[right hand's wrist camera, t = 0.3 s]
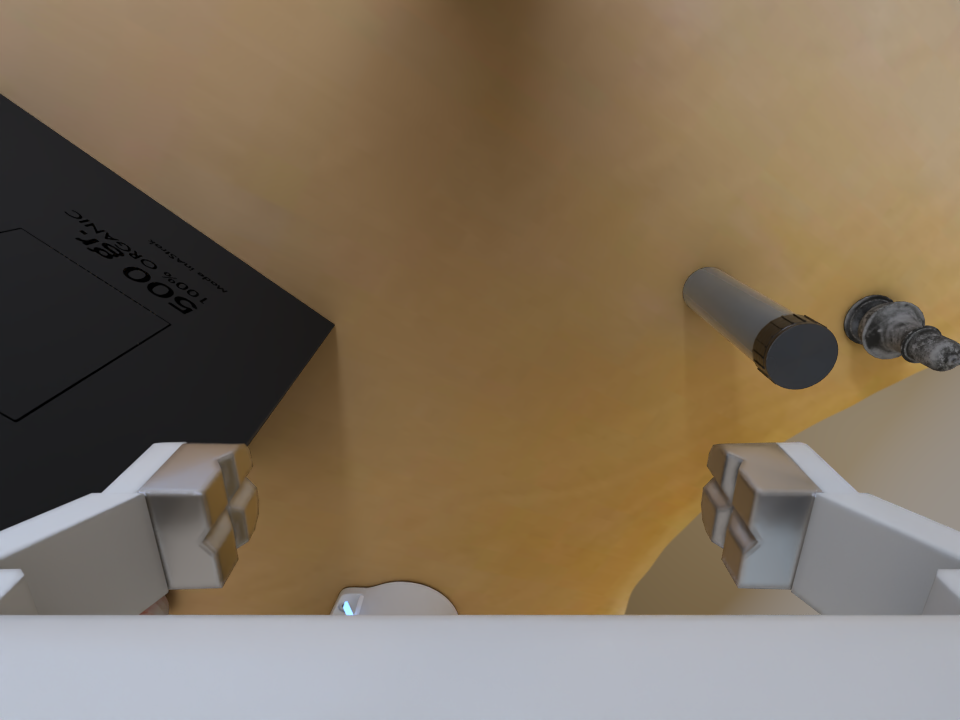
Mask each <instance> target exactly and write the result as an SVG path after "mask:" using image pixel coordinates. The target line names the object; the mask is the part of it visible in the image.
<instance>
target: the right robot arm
mask: <svg viewBox="0 0 960 720" xmlns="http://www.w3.org/2000/svg"><path fill="white" fill-rule="evenodd" d="M252 467H253V463H252V458H251V453H250V449H249V448H248V447H247V446H246V445H245V444H239V443H186V442H164V443H154V444H153V445H152V446H151V447H150V448H148V449H147V450H146V451H145V452H144V453H143V454H142V455H141V456H140V457H139V458H138V459H137V460H136V461H135V462H134V463H133V464H132V465H130V466H129V467H128V468H127V469H126V470H125V471H124V472H123V473H122V474H121V475H120V476H119V477H118V478H117V479H116V480H115V481H114V482H112V483H111V484H110V485H109V486H108V487H107V488H106V489H105V490H104V491H103V492H102V493H91V494H88V495H86V496H84V497H81V498H79V499H76V500H74V501H72V502H69V503H67V504H64V505H62V506H60V507H57V508H55V509H52V510H50V511H48V512H45V513H43V514H40V515H38V516H36V517H33V518H31V519H28V520H26V521H24V522H21V523H19V524H16V525H14V526H12V527H9V528H7V529H4V530H2V531H0V720H960V531H958V530H955V529H953V528H951V527H948V526H946V525H943V524H941V523H939V522H936V521H934V520H931V519H929V518H927V517H924V516H922V515H920V514H917V513H915V512H912V511H910V510H907V509H905V508H903V507H900V506H898V505H895V504H893V503H891V502H888V501H886V500H884V499H881V498H879V497H876V496H874V495H872V494H869V493H858V492H857V491H856V490H855V489H854V488H853V487H852V486H851V485H850V484H849V483H848V482H846V481H845V480H844V479H843V478H842V477H841V476H840V475H839V474H838V473H837V472H836V471H835V470H834V469H833V468H832V467H831V466H830V465H829V464H828V463H826V462H825V461H824V460H823V459H822V458H821V457H820V456H819V455H818V454H817V453H816V452H815V451H814V450H813V449H812V448H811V447H810V446H808V445H807V444H805V443H802V442H784V443H737V444H716V445H713V446H712V448H711V450H710V453H709V457H708V462H707V467H708V469H709V470H710V472H711V473H712V475H713V476H714V477H713V478H712V479H711V480H710V481H709V482H708V483H707V484H706V485H705V486H704V487H703V493H702V501H701V510H702V520H703V523H704V526H705V530H706V532H707V534H708V536H709V538H710V540H711V541H712V542H713V543H715V544H717V545H718V546H720V547H721V548H723V554H722V561H723V563H724V564H725V566H726V568H727V570H728V571H729V573H730V575H731V577H732V578H733V580H734V582H735V584H736V585H737V587H738V588H754V589H791V592H792V593H793V594H795V595H796V596H797V597H799V598H800V599H801V600H803V601H804V602H805V603H807V604H808V605H809V606H811V607H812V608H813V609H814V610H816V611H817V612H818V613H820V614H821V615H139V614H140V613H142V612H143V611H144V610H146V609H147V608H148V607H150V606H151V605H152V604H154V603H155V602H156V601H158V600H159V599H160V598H162V597H163V596H164V595H166V594H167V593H168V592H169V589H205V588H222V587H223V585H224V584H225V582H226V580H227V579H228V577H229V575H230V573H231V572H232V570H233V568H234V566H235V565H236V563H237V561H238V554H237V548H239V547H240V546H242V545H243V544H245V543H247V542H248V541H249V540H250V538H251V536H252V534H253V532H254V530H255V527H256V522H257V518H258V514H259V499H258V492H257V487H256V486H255V485H254V484H253V483H252V482H251V481H250V480H249V479H248V478H247V477H246V476H247V475H248V473H249V472H250V470H251V469H252Z"/></svg>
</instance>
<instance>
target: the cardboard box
mask: <svg viewBox="0 0 960 720" xmlns="http://www.w3.org/2000/svg"><path fill="white" fill-rule="evenodd" d="M88 220H90V221H89V222H88ZM93 223H94V225H95V227H94V228H93ZM101 230H102V231H101ZM104 230H105V232H104ZM79 231H81V232H79ZM84 232H86V234H84ZM107 232H108V233H109V235H108V237H107V238H106V233H107ZM110 236H111V237H112V238H111V237H110ZM90 239H92V241H94V240H95V239H97V240H96V242H97V241H98V242H97V243H96V242H94V243H92V242H91V241H90ZM120 242H121V243H120ZM102 243H103V244H105V243H106V245H105V246H104V245H102ZM122 243H124V244H122ZM125 245H127V246H125ZM50 247H52V248H53V249H52V248H50ZM112 247H114V248H115V249H114V248H112ZM129 247H130V249H131V251H129ZM109 248H110V251H108V249H109ZM94 251H98V252H99V253H100V255H99V254H98V253H96V252H94ZM59 252H60V253H59ZM119 252H121V254H120V255H122V254H124V256H119V257H117V256H118V254H119ZM134 252H137V254H135V253H134ZM115 253H117V255H115V256H113V254H115ZM110 254H112V255H110ZM134 254H135V255H137V256H138V257H136V256H135V255H134ZM63 255H64V256H65V257H64V256H63ZM140 255H142V256H143V257H140ZM102 256H106V257H107V258H105V257H102ZM68 258H69V259H70V260H69V259H68ZM145 259H146V260H145ZM148 260H149V261H150V262H149V261H148ZM151 262H153V263H151ZM77 264H78V265H79V266H78V265H77ZM153 264H155V265H153ZM156 266H157V267H156ZM133 267H136V268H135V269H133ZM152 267H153V268H152ZM125 268H126V271H128V273H127V277H126V276H125V275H124V274H125V273H126V271H124V269H125ZM139 268H140V269H141V270H144V271H146V274H145V273H144V271H143V272H142V271H139V270H138V269H139ZM85 269H86V270H87V271H86V270H85ZM89 272H91V273H92V274H91V273H89ZM123 272H124V274H123ZM147 273H148V274H149V276H148V277H147V278H146V275H147ZM95 275H96V276H97V277H96V276H95ZM150 276H151V279H150V278H149V277H150ZM103 281H105V282H103ZM154 282H155V283H154ZM108 284H109V285H108ZM112 286H113V287H114V288H113V287H112ZM118 290H119V291H118ZM122 293H124V294H122ZM131 299H133V300H134V301H133V300H131ZM138 303H139V304H138ZM141 305H142V306H143V307H142V306H141ZM150 311H152V312H150ZM154 313H155V314H156V315H155V314H154ZM334 326H335V325H334V324H333V323H331V322H330V321H328V320H327V319H325V318H324V317H322V316H321V315H320V314H318V313H317V312H315V311H314V310H312V309H311V308H309V307H308V306H306V305H305V304H304V303H302V302H301V301H299V300H298V299H296V298H295V297H293V296H292V295H291V294H289V293H288V292H286V291H285V290H283V289H282V288H280V287H279V286H278V285H276V284H275V283H273V282H272V281H270V280H269V279H267V278H266V277H265V276H263V275H262V274H260V273H259V272H257V271H256V270H254V269H253V268H251V267H250V266H249V265H247V264H246V263H244V262H243V261H241V260H240V259H238V258H237V257H236V256H234V255H233V254H231V253H230V252H228V251H227V250H225V249H224V248H223V247H221V246H220V245H218V244H217V243H215V242H214V241H212V240H211V239H210V238H208V237H207V236H205V235H204V234H202V233H201V232H199V231H198V230H196V229H195V228H194V227H192V226H191V225H189V224H188V223H186V222H185V221H183V220H182V219H181V218H179V217H178V216H176V215H175V214H173V213H172V212H170V211H169V210H168V209H166V208H165V207H163V206H162V205H160V204H159V203H157V202H156V201H155V200H153V199H152V198H150V197H149V196H147V195H146V194H144V193H143V192H141V191H140V190H139V189H137V188H136V187H134V186H133V185H131V184H130V183H128V182H127V181H126V180H124V179H123V178H121V177H120V176H118V175H117V174H115V173H114V172H113V171H111V170H110V169H108V168H107V167H105V166H104V165H102V164H101V163H100V162H98V161H97V160H95V159H94V158H92V157H91V156H89V155H88V154H86V153H85V152H84V151H82V150H81V149H79V148H78V147H76V146H75V145H73V144H72V143H71V142H69V141H68V140H66V139H65V138H63V137H62V136H60V135H59V134H58V133H56V132H55V131H53V130H52V129H50V128H49V127H47V126H46V125H45V124H43V123H42V122H40V121H39V120H37V119H36V118H34V117H33V116H31V115H30V114H29V113H27V112H26V111H24V110H23V109H21V108H20V107H18V106H17V105H16V104H14V103H13V102H11V101H10V100H8V99H7V98H5V97H4V96H3V95H1V94H0V531H2V530H4V529H7V528H9V527H12V526H14V525H16V524H19V523H21V522H24V521H26V520H28V519H31V518H33V517H36V516H38V515H40V514H43V513H45V512H48V511H50V510H52V509H55V508H57V507H60V506H62V505H64V504H67V503H69V502H72V501H74V500H76V499H79V498H81V497H84V496H86V495H88V494H91V493H102V492H103V491H104V490H105V489H106V488H107V487H108V486H109V485H110V484H111V483H112V482H114V481H115V480H116V479H117V478H118V477H119V476H120V475H121V474H122V473H123V472H124V471H125V470H126V469H127V468H128V467H129V466H130V465H132V464H133V463H134V462H135V461H136V460H137V459H138V458H139V457H140V456H141V455H142V454H143V453H144V452H145V451H146V450H147V449H148V448H150V447H151V446H152V445H153V444H154V443H164V442H186V443H239V444H245V445H246V446H248V445H249V444H250V442H251V441H252V439H253V438H254V437H255V435H256V434H257V432H258V431H259V430H260V428H261V427H262V426H263V424H264V423H265V421H266V420H267V419H268V417H269V416H270V414H271V413H272V412H273V410H274V409H275V408H276V406H277V405H278V403H279V402H280V401H281V399H282V398H283V396H284V395H285V394H286V392H287V391H288V389H289V388H290V387H291V385H292V384H293V383H294V381H295V380H296V378H297V377H298V376H299V374H300V373H301V371H302V370H303V369H304V367H305V366H306V364H307V363H308V362H309V360H310V359H311V358H312V356H313V355H314V353H315V352H316V351H317V349H318V348H319V346H320V345H321V344H322V342H323V341H324V339H325V338H326V337H327V335H328V334H329V333H330V331H331V330H332V328H333V327H334ZM138 343H139V344H138Z"/></svg>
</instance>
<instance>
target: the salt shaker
mask: <svg viewBox="0 0 960 720" xmlns="http://www.w3.org/2000/svg"><path fill="white" fill-rule="evenodd" d="M844 330H845V332H846V335H847V336H848V337H849V339H850V340H852V341H854V342H855V343H858V344H863V346H864V349H865V350H866V351H867V352H868V353H869V354H870V355H872V356H874V357H876V358H880V359H892V358H896V357H899V356H901V355H902V357H903V358H904V359H905V360H907V361H908V362H911V363H921V364H923V365H925V366H927V367H929V368H931V369H933V370H936V371H947V370H951V369H953V368H955V367H956V366H958V365H960V344H959V343H957V342H956V341H954V340H951V339H949V338H947V337H945V336H942V335H941V332H940V331H939V330H938V329H937V328H935V327H933V326H925V319H924V316H923V313H922V312H921V310H920V309H919V308H918V307H917V306H915V305H914V304H912V303H908V302H893V301H892V300H891V299H889V298H888V297H886V296H882V295H872V296H868V297H865V298H863V299H861V300H859V301H858V302H857V303H855V304H854V305H853V306H852V307H851V309H850V310H849V311H848V313H847V315H846V317H845V322H844Z"/></svg>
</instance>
